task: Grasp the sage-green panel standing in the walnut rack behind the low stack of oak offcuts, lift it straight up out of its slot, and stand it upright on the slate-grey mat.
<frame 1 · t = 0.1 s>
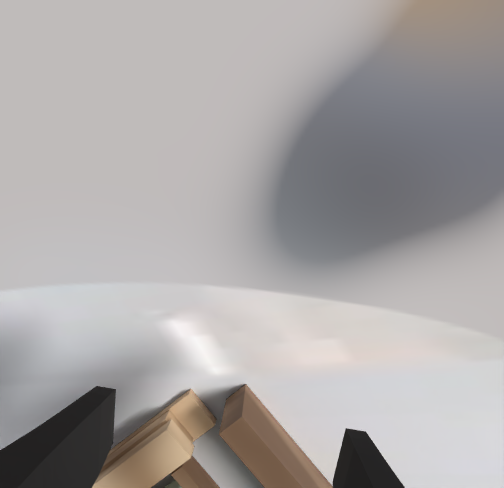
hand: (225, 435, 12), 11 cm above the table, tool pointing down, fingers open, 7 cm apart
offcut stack: (135, 452, 24), on the table
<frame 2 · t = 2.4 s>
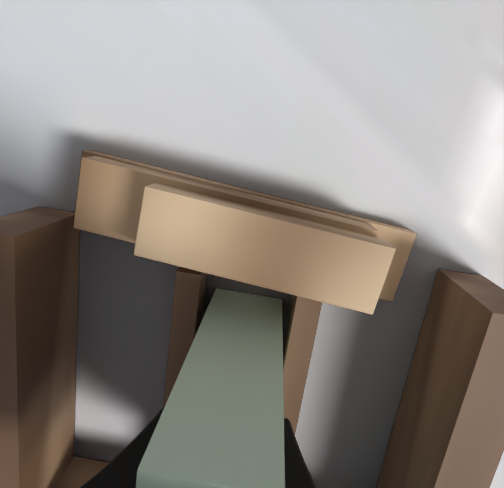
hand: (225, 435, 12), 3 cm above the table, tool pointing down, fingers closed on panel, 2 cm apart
panel: (236, 377, 15), resting in rack, touching gripper
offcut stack: (243, 221, 14), on the table
rack: (235, 378, 15), on the table
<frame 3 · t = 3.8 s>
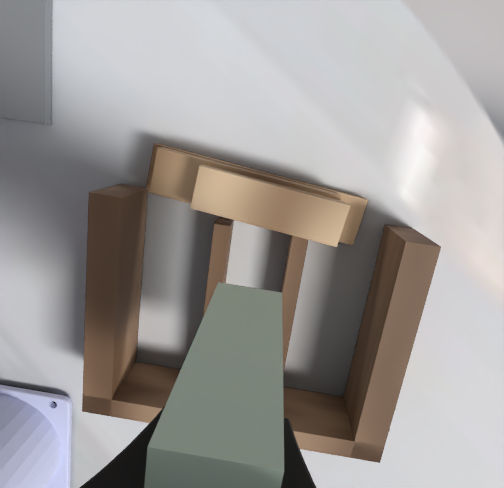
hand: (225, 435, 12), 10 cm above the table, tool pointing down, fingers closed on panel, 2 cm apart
panel: (237, 368, 15), point 7 cm above the table, touching gripper
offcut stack: (256, 192, 21), on the table
rack: (250, 302, 22), on the table
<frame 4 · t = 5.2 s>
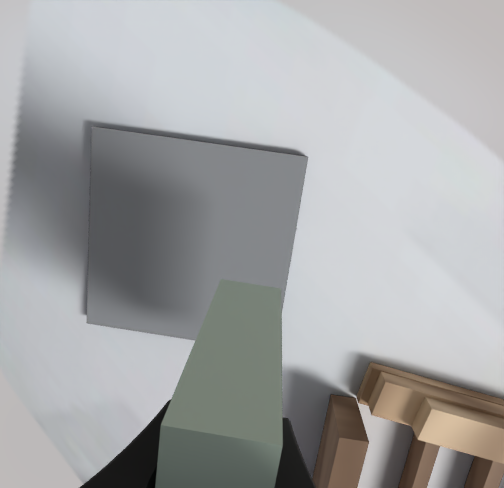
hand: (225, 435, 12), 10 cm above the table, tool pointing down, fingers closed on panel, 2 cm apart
panel: (239, 361, 16), point 6 cm above the table, touching gripper
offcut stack: (450, 400, 23), on the table, touching rack
mat: (191, 243, 21), on the table
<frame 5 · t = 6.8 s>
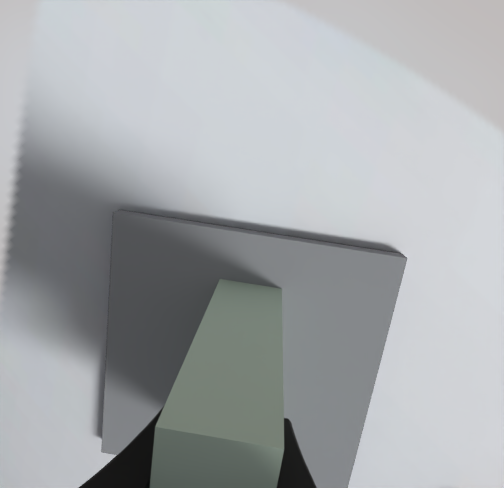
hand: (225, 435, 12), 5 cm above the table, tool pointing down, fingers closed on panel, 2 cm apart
panel: (238, 363, 16), point 1 cm above the table, touching gripper, mat
mat: (240, 357, 16), on the table
when the fingers open (4 cm above the table, at t = 7.2 s): panel stays where it is, resting on mat.
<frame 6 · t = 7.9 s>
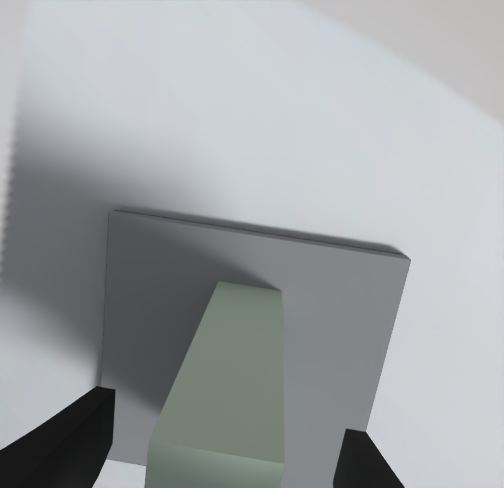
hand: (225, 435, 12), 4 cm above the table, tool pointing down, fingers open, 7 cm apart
panel: (237, 367, 15), point 1 cm above the table, touching mat
mat: (239, 360, 16), on the table
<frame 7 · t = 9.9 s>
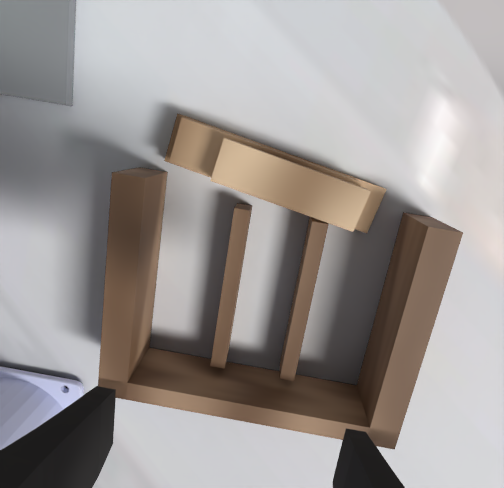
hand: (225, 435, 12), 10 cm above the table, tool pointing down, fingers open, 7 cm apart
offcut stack: (274, 173, 20), on the table
rack: (266, 288, 22), on the table
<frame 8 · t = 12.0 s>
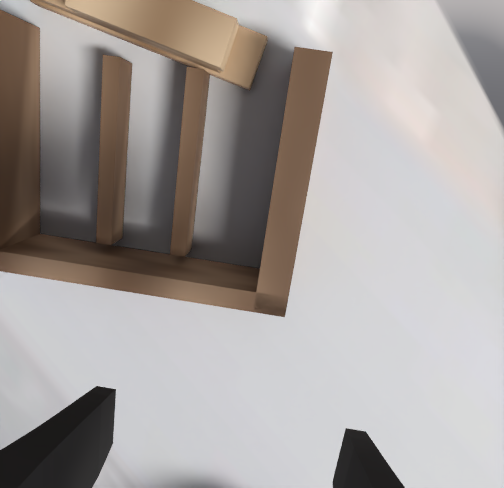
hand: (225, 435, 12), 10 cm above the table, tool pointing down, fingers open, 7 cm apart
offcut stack: (154, 25, 19), on the table
rack: (155, 160, 20), on the table
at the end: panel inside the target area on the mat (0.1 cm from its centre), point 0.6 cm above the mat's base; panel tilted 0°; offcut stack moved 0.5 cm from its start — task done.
